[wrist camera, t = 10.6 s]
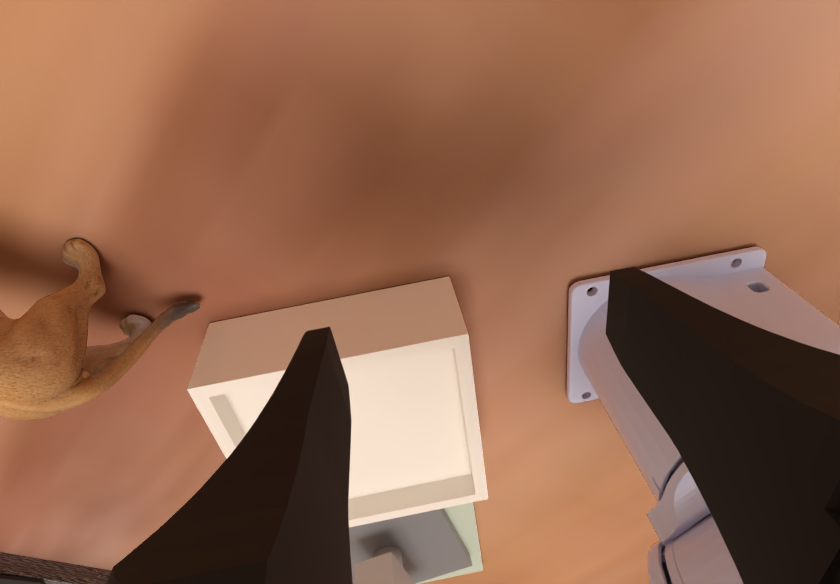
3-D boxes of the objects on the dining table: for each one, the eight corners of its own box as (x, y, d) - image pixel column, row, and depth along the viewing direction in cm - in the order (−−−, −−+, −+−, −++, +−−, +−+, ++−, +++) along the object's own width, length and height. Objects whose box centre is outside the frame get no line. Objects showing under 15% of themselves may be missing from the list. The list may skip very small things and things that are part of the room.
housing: (449, 276, 24) (468, 333, 20) (470, 434, 30) (488, 499, 26) (209, 323, 23) (187, 389, 20) (282, 472, 30) (274, 542, 26)
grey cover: (429, 483, 31) (440, 554, 28) (470, 554, 36) (484, 622, 33) (292, 528, 32) (286, 603, 28) (350, 592, 37) (352, 662, 33)
